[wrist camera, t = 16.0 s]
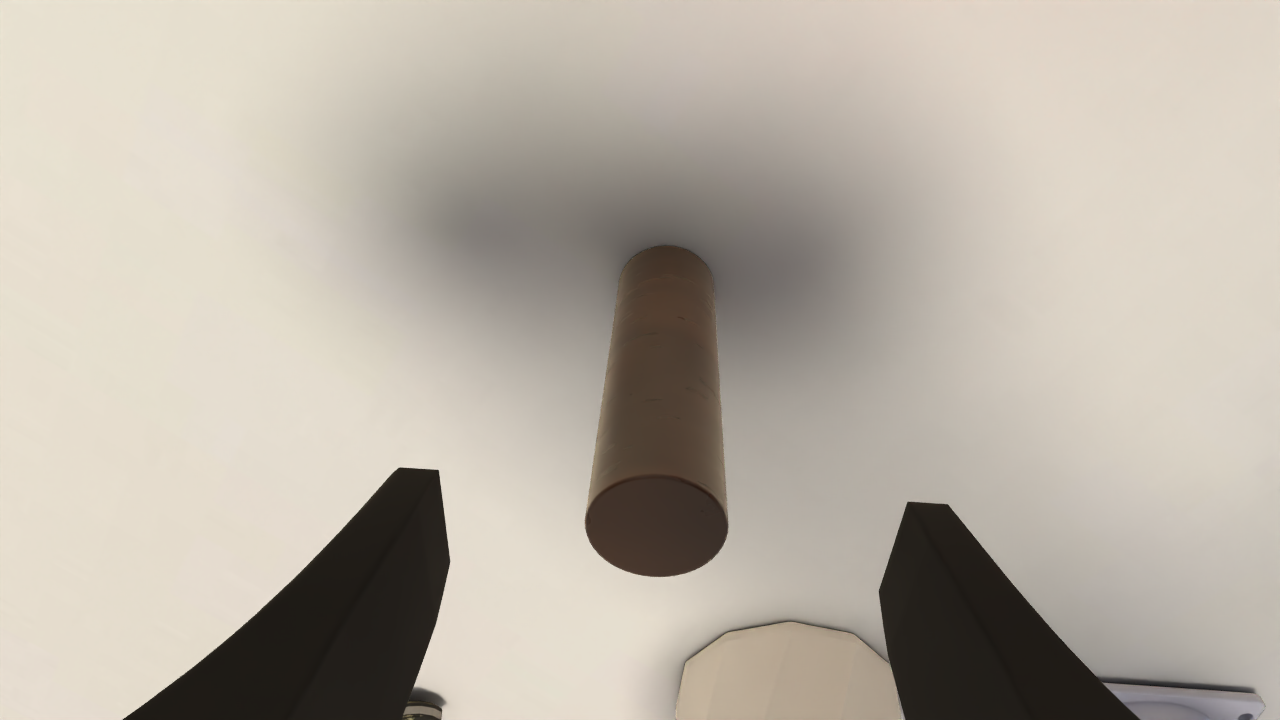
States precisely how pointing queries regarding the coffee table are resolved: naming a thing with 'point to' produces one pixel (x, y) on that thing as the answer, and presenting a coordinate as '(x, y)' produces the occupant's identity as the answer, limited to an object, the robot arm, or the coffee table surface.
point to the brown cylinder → (660, 422)
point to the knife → (422, 711)
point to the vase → (787, 677)
